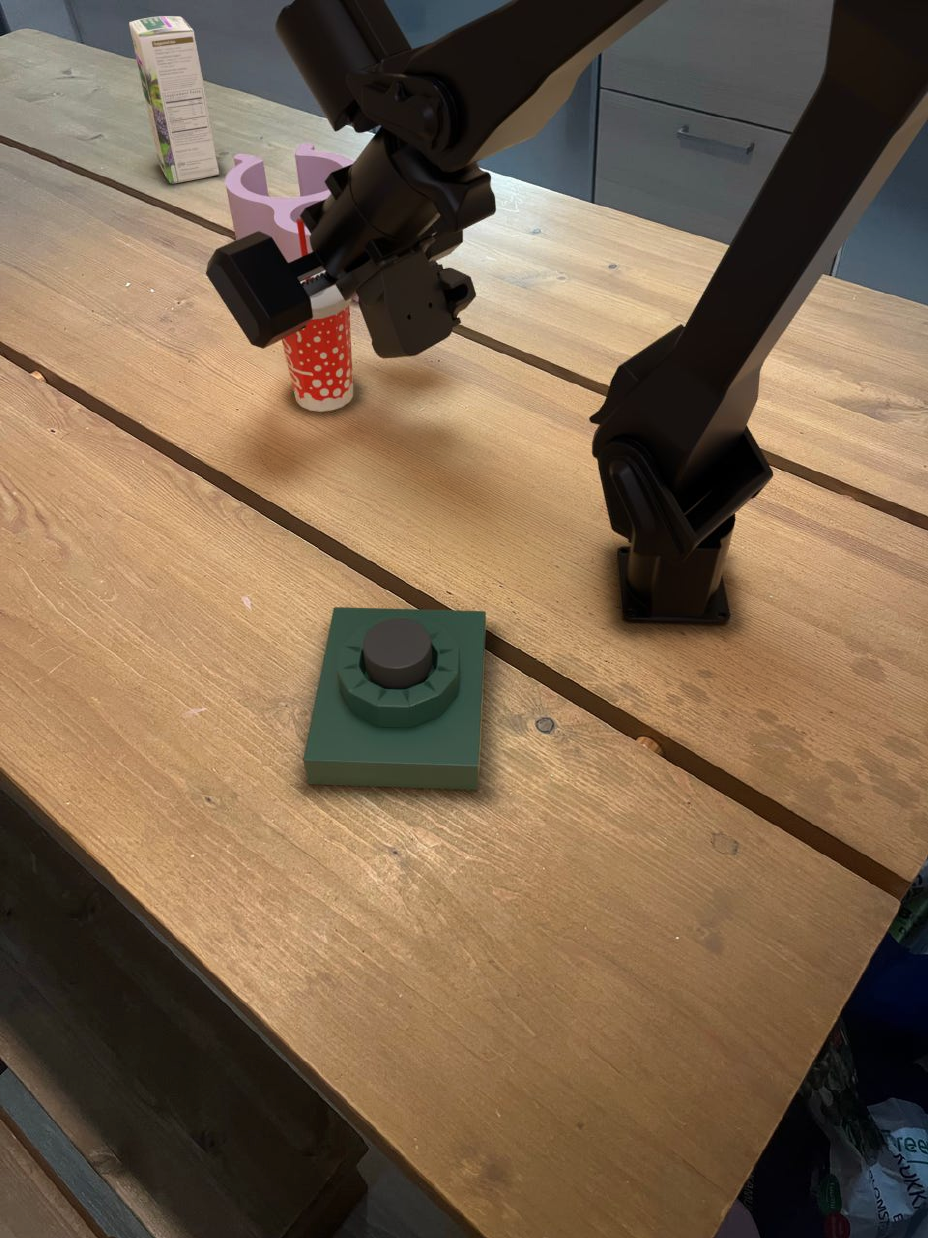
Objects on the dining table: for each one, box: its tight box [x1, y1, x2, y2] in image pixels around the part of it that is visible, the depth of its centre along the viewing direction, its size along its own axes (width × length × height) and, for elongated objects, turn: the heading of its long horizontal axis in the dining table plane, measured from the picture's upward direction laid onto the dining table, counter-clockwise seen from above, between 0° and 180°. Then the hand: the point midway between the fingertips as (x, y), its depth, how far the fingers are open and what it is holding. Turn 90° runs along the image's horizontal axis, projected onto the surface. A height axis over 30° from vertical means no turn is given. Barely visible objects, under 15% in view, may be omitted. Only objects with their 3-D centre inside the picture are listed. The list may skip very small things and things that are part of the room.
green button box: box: [302, 606, 487, 791], centre depth 52 cm, size 11×9×4 cm
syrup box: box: [128, 15, 221, 184], centre depth 102 cm, size 6×6×14 cm
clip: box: [224, 142, 359, 303], centre depth 89 cm, size 20×12×7 cm, turn 23°
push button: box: [363, 618, 432, 689], centre depth 51 cm, size 4×4×2 cm
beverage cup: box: [281, 219, 354, 413], centre depth 71 cm, size 6×6×14 cm
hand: (299, 303), depth 71 cm, fingers open, 8 cm apart
